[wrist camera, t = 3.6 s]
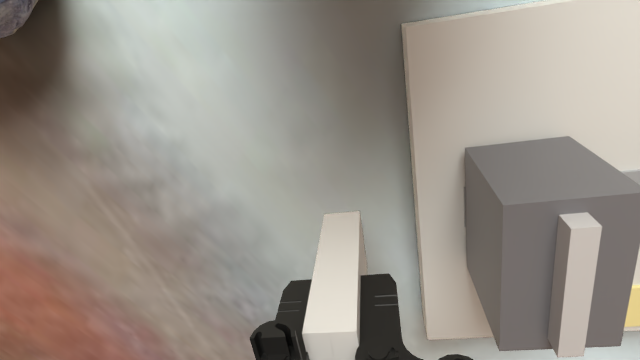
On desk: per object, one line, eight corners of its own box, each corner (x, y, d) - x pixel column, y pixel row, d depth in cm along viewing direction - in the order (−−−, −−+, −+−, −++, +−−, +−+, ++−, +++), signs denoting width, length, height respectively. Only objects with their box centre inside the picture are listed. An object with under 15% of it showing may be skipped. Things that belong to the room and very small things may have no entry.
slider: (466, 266, 19) (506, 369, 14) (464, 147, 17) (511, 218, 11) (557, 259, 18) (634, 365, 13) (568, 136, 16) (669, 205, 11)
